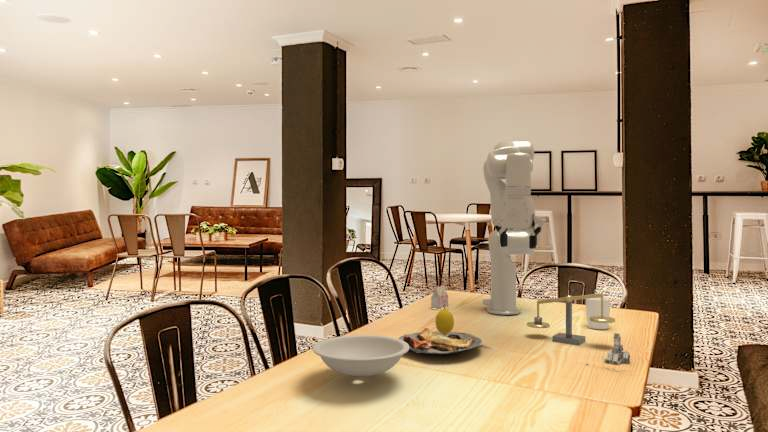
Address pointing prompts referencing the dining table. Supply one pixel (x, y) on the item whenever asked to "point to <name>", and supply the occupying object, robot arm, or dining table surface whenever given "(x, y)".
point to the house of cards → (617, 353)
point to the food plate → (440, 342)
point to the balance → (569, 319)
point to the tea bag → (439, 298)
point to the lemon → (444, 321)
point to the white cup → (597, 311)
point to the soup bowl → (361, 353)
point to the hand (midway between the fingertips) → (518, 247)
